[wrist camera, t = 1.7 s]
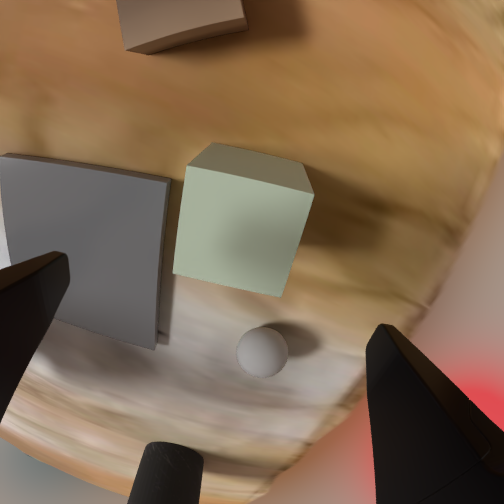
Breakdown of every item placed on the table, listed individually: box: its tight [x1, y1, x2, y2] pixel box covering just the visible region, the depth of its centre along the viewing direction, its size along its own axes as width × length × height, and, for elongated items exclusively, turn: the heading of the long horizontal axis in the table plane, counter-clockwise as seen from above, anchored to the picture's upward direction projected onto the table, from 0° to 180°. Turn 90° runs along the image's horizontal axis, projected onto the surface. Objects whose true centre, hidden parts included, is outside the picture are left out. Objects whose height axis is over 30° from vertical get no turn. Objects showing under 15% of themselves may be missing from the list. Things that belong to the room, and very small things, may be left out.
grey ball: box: [236, 327, 288, 378], centre depth 19 cm, size 3×3×3 cm
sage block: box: [173, 143, 315, 298], centre depth 14 cm, size 4×4×5 cm
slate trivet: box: [0, 153, 171, 350], centre depth 18 cm, size 12×12×1 cm
